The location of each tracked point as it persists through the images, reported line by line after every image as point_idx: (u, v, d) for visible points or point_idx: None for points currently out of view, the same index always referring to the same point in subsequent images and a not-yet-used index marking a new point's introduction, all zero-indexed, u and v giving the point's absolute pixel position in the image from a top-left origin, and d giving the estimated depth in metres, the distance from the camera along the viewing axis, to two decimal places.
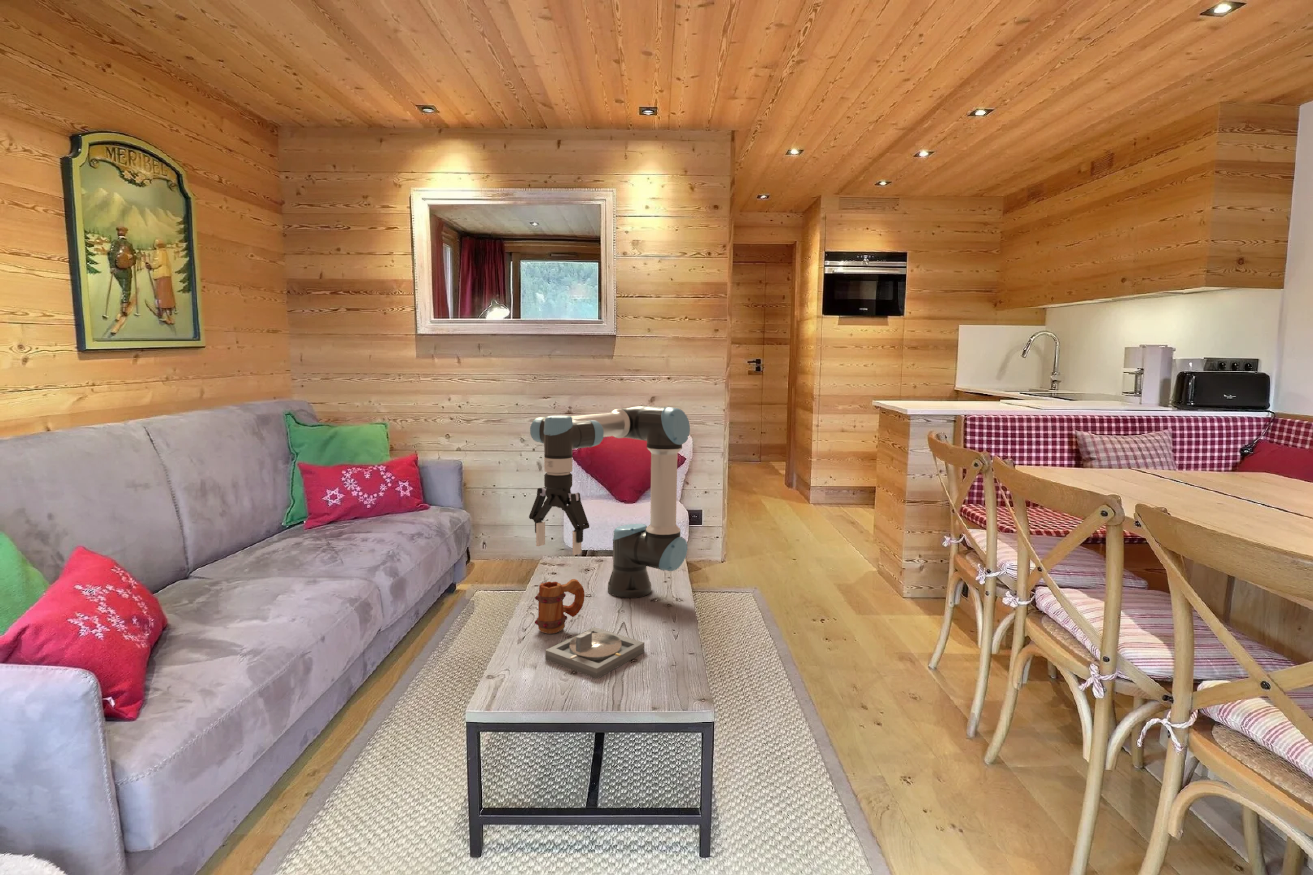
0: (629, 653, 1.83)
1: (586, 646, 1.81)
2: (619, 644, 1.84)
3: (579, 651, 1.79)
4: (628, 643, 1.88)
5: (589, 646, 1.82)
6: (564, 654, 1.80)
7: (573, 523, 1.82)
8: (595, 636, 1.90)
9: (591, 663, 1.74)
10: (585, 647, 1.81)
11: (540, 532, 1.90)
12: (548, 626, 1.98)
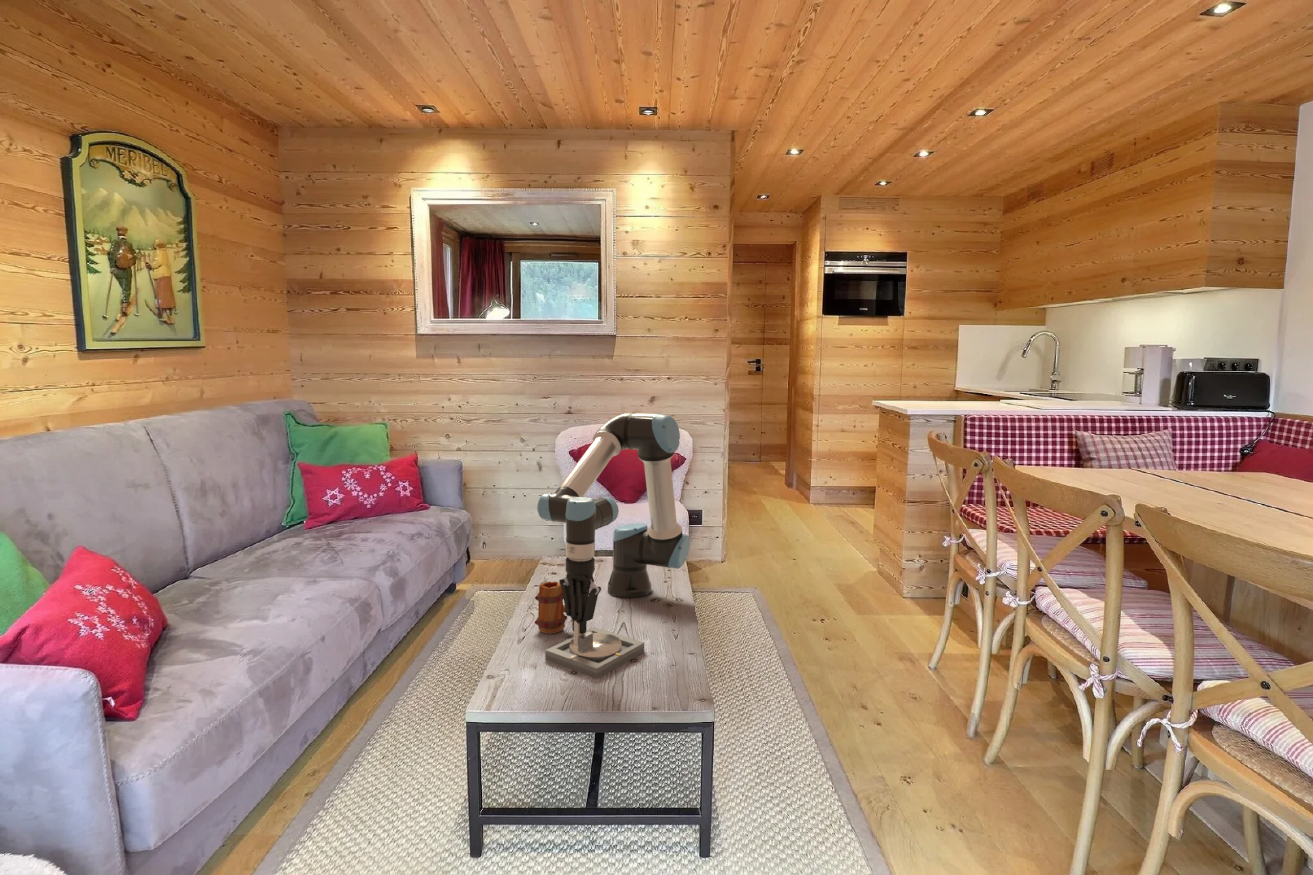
0: (629, 653, 1.83)
1: (588, 647, 1.81)
2: (619, 643, 1.85)
3: (582, 652, 1.79)
4: (628, 643, 1.88)
5: (590, 646, 1.82)
6: (564, 654, 1.80)
7: (580, 613, 1.78)
8: (593, 636, 1.90)
9: (591, 663, 1.74)
10: (587, 647, 1.80)
11: None
12: (548, 626, 1.98)
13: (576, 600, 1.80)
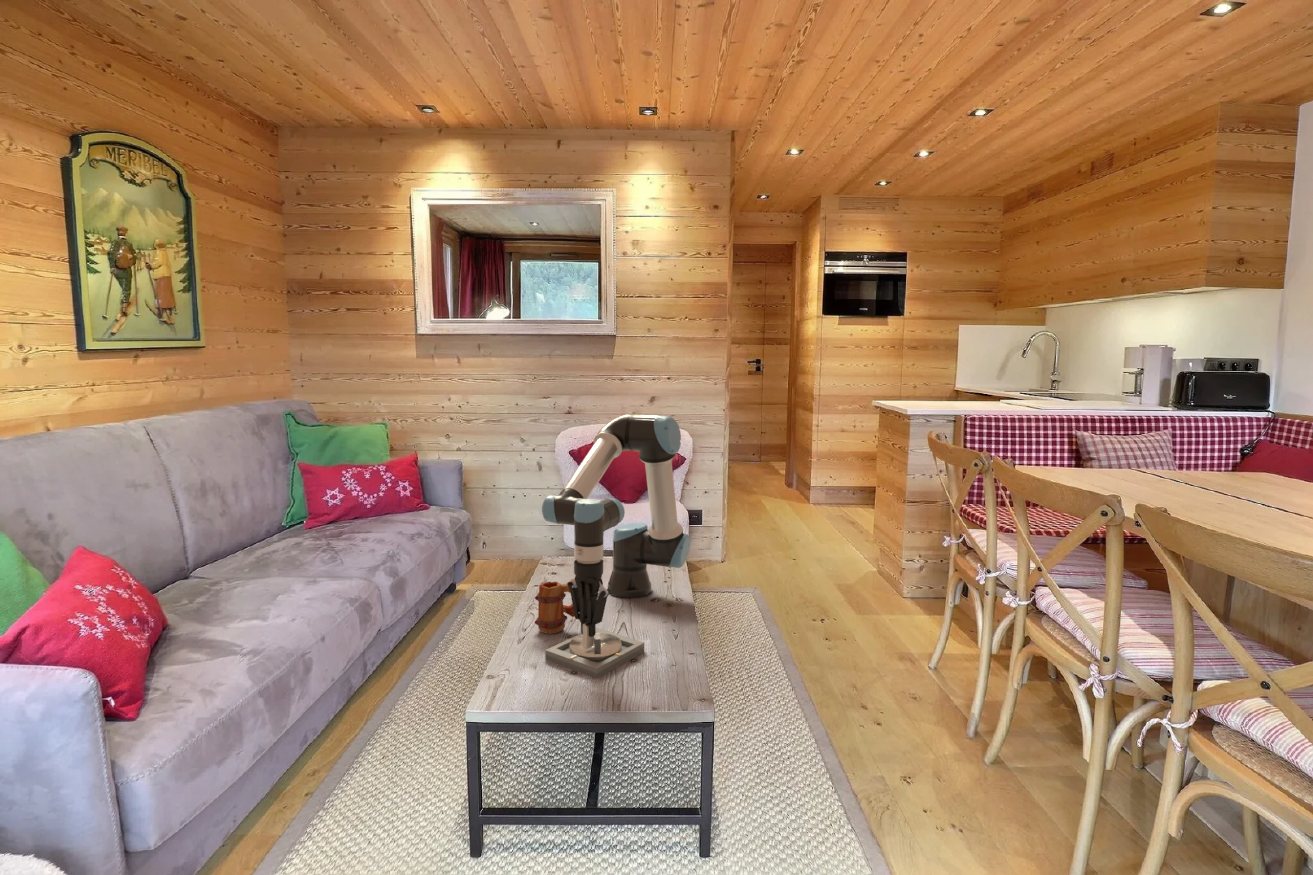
0: (629, 653, 1.83)
1: None
2: (615, 637, 1.89)
3: (599, 653, 1.78)
4: (628, 643, 1.88)
5: None
6: (564, 654, 1.80)
7: (589, 616, 1.77)
8: None
9: (591, 663, 1.74)
10: None
11: None
12: (548, 626, 1.98)
13: (585, 603, 1.78)
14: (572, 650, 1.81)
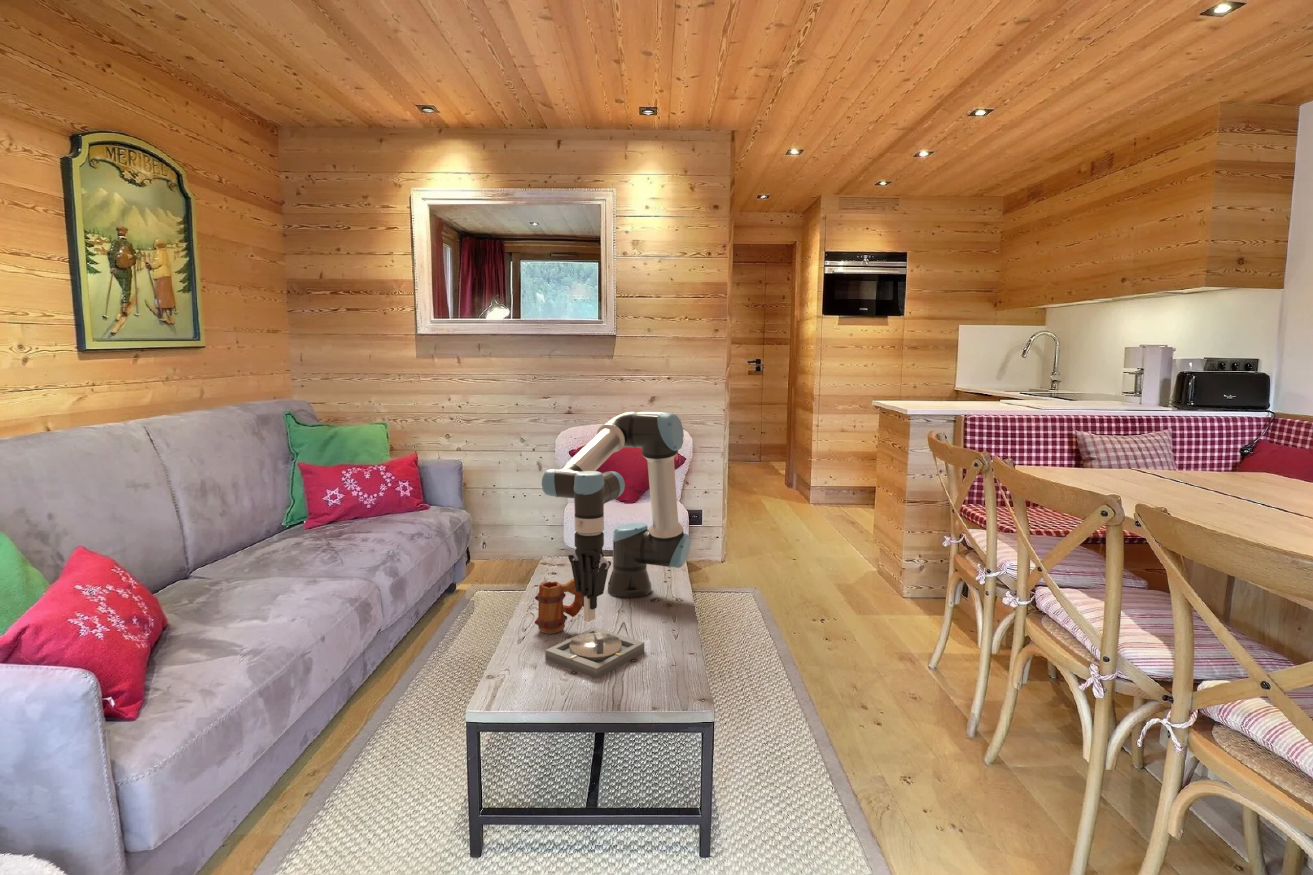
0: (629, 653, 1.83)
1: None
2: (613, 636, 1.90)
3: (601, 652, 1.79)
4: (628, 643, 1.88)
5: None
6: (564, 654, 1.80)
7: (590, 589, 1.76)
8: (582, 638, 1.88)
9: (591, 663, 1.74)
10: None
11: None
12: (548, 626, 1.98)
13: (586, 575, 1.77)
14: (573, 651, 1.81)
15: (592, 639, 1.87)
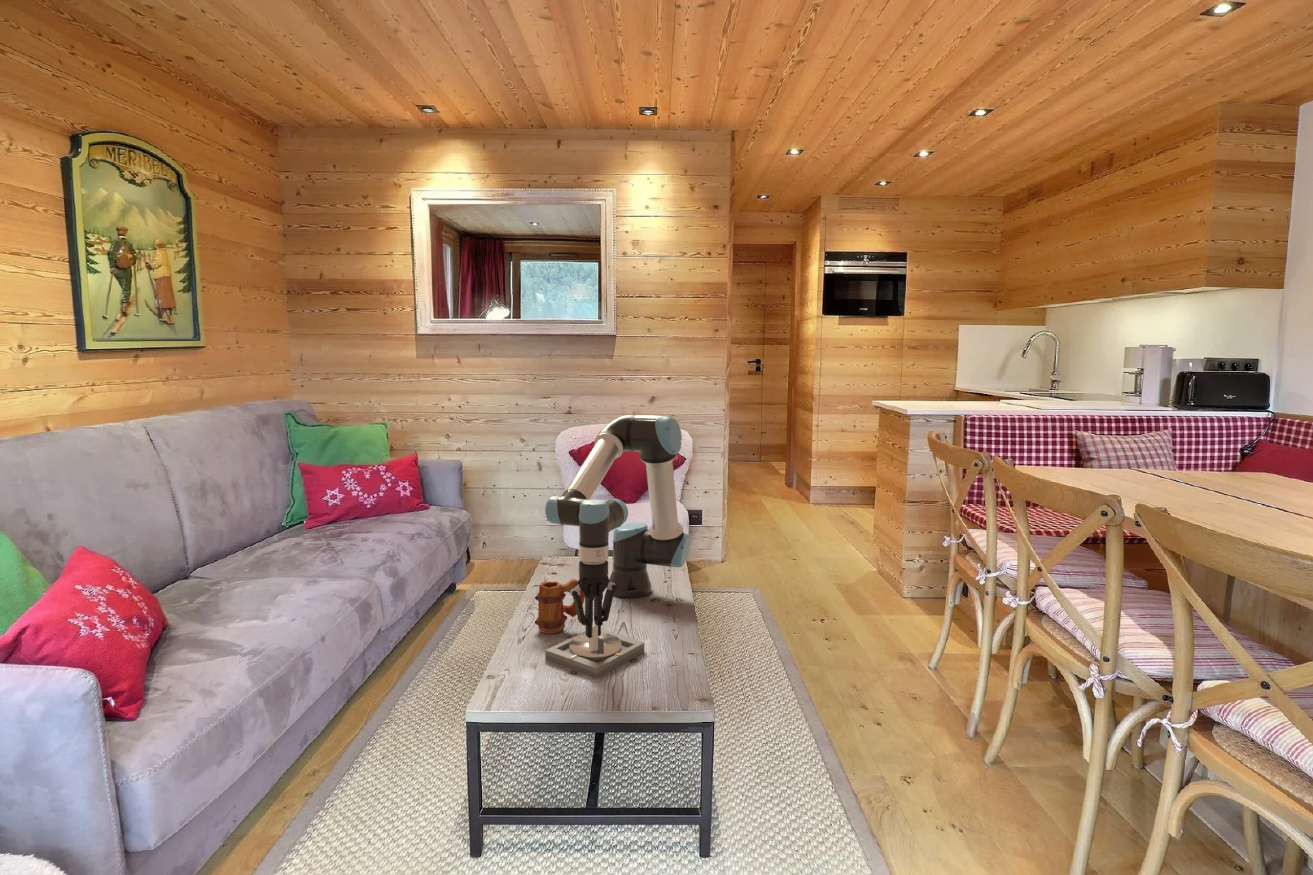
0: (629, 653, 1.83)
1: None
2: (613, 636, 1.90)
3: (602, 652, 1.79)
4: (628, 643, 1.88)
5: None
6: (564, 654, 1.80)
7: (599, 616, 1.77)
8: (582, 638, 1.88)
9: (591, 663, 1.74)
10: None
11: None
12: (548, 626, 1.98)
13: None
14: (574, 651, 1.81)
15: None
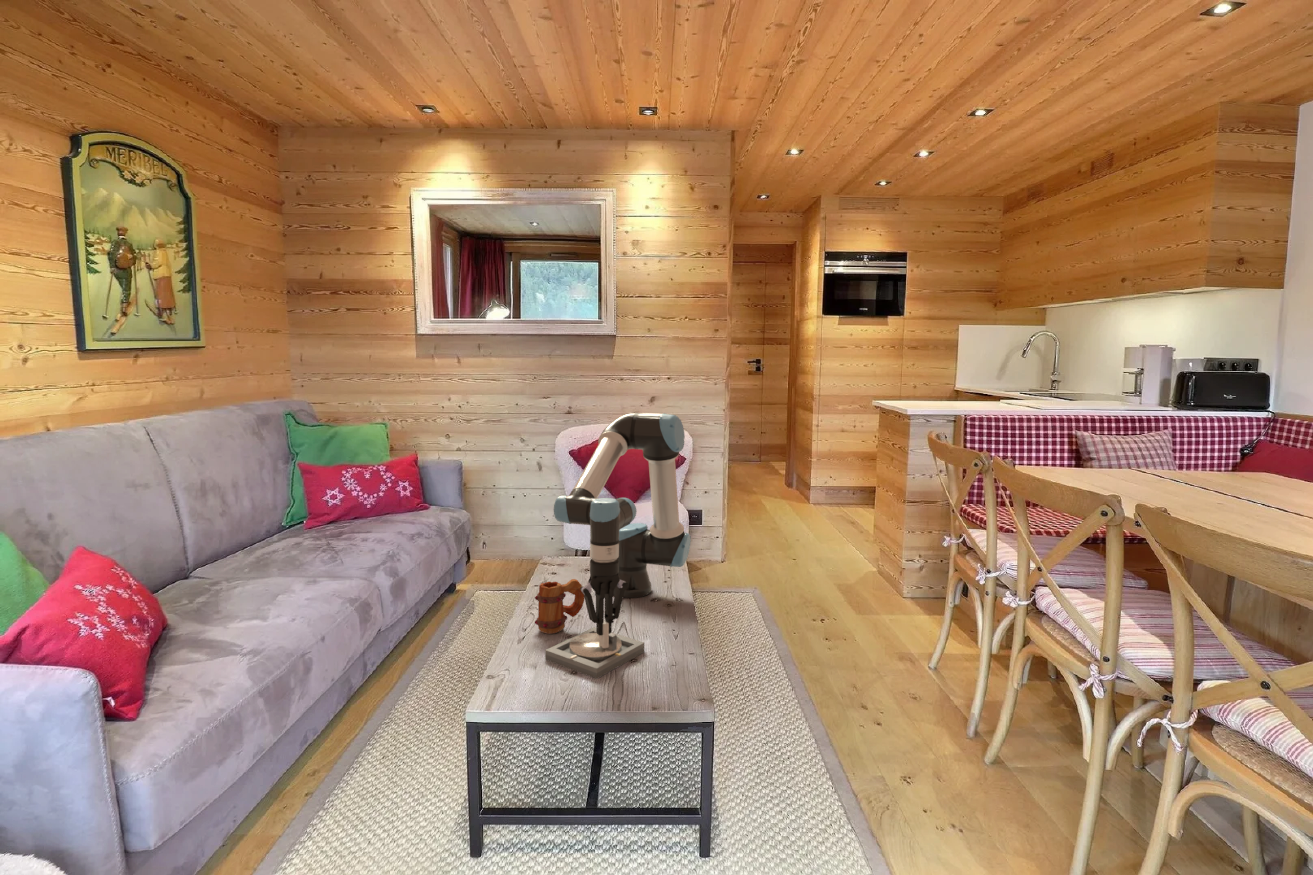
0: (629, 653, 1.83)
1: None
2: None
3: (615, 649, 1.81)
4: (628, 643, 1.88)
5: None
6: (564, 654, 1.80)
7: (610, 613, 1.79)
8: (578, 642, 1.85)
9: (591, 663, 1.74)
10: None
11: None
12: (548, 626, 1.98)
13: None
14: (586, 655, 1.78)
15: (587, 641, 1.86)
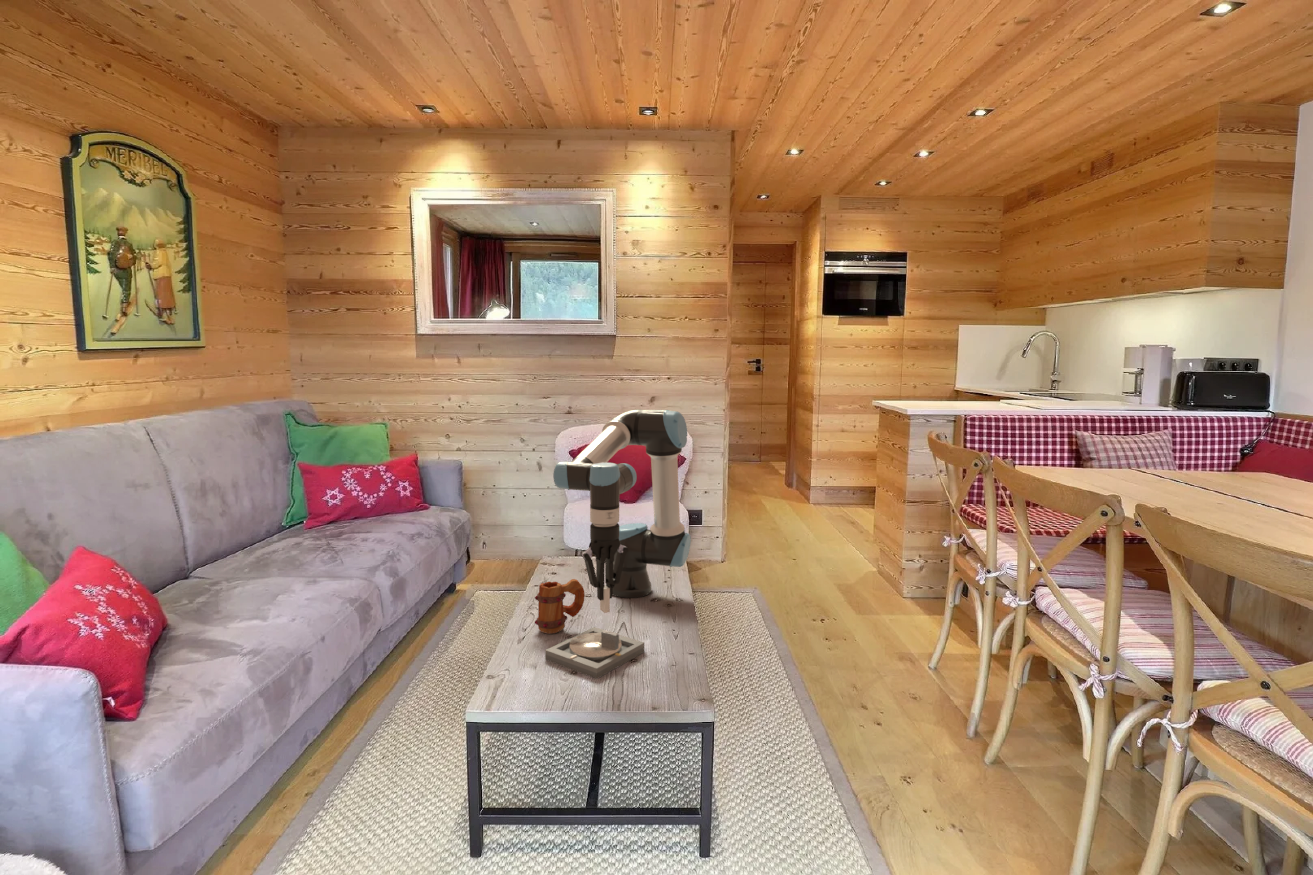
0: (629, 653, 1.83)
1: None
2: (598, 633, 1.92)
3: (617, 647, 1.82)
4: (628, 643, 1.88)
5: None
6: (564, 654, 1.80)
7: (611, 578, 1.78)
8: (578, 643, 1.84)
9: (591, 663, 1.74)
10: None
11: None
12: (548, 626, 1.98)
13: None
14: (589, 655, 1.78)
15: (587, 641, 1.86)
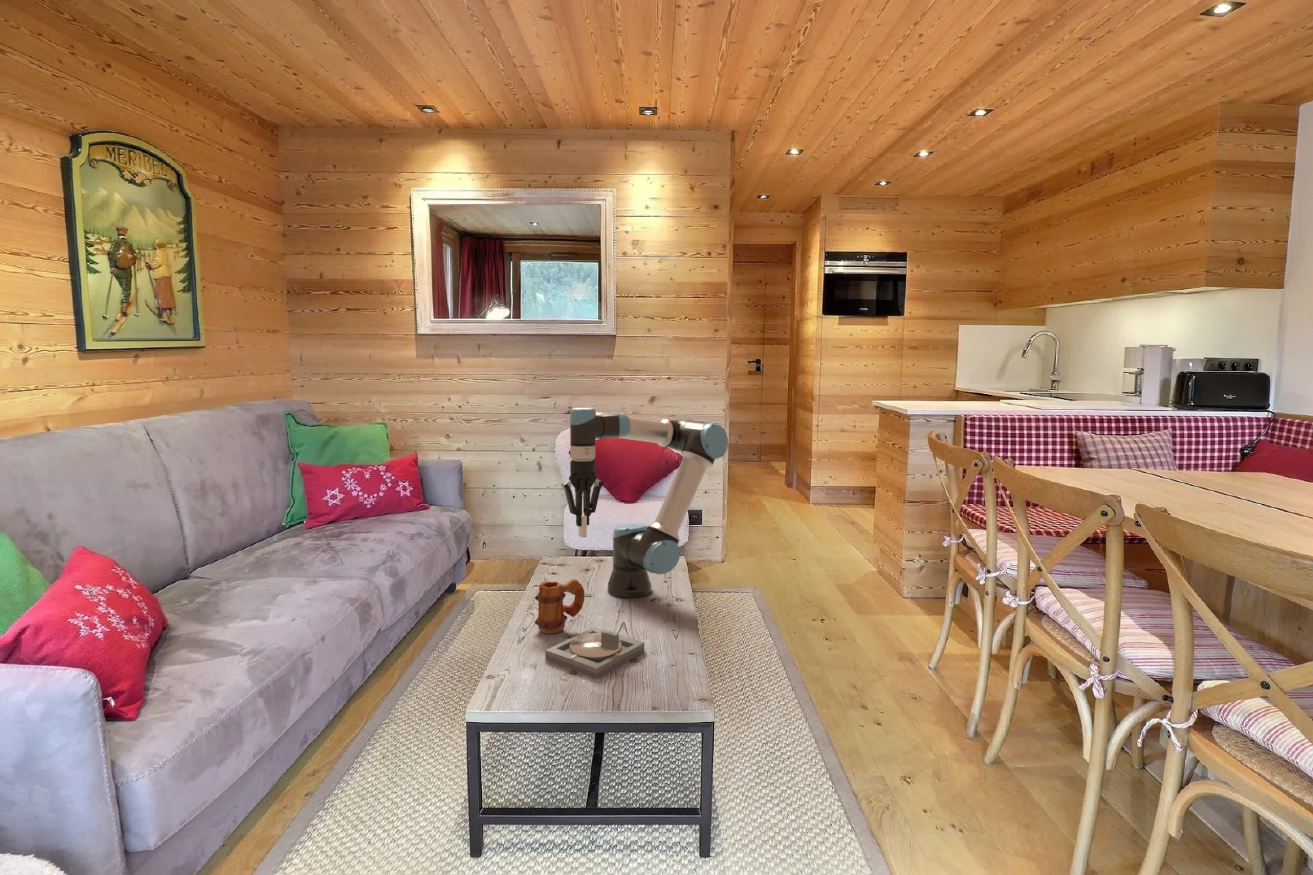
0: (629, 653, 1.83)
1: None
2: (598, 633, 1.92)
3: (617, 647, 1.82)
4: (628, 643, 1.88)
5: None
6: (564, 654, 1.80)
7: (588, 507, 2.06)
8: (578, 643, 1.84)
9: (591, 663, 1.74)
10: None
11: None
12: (548, 626, 1.98)
13: None
14: (589, 655, 1.78)
15: (587, 641, 1.86)
